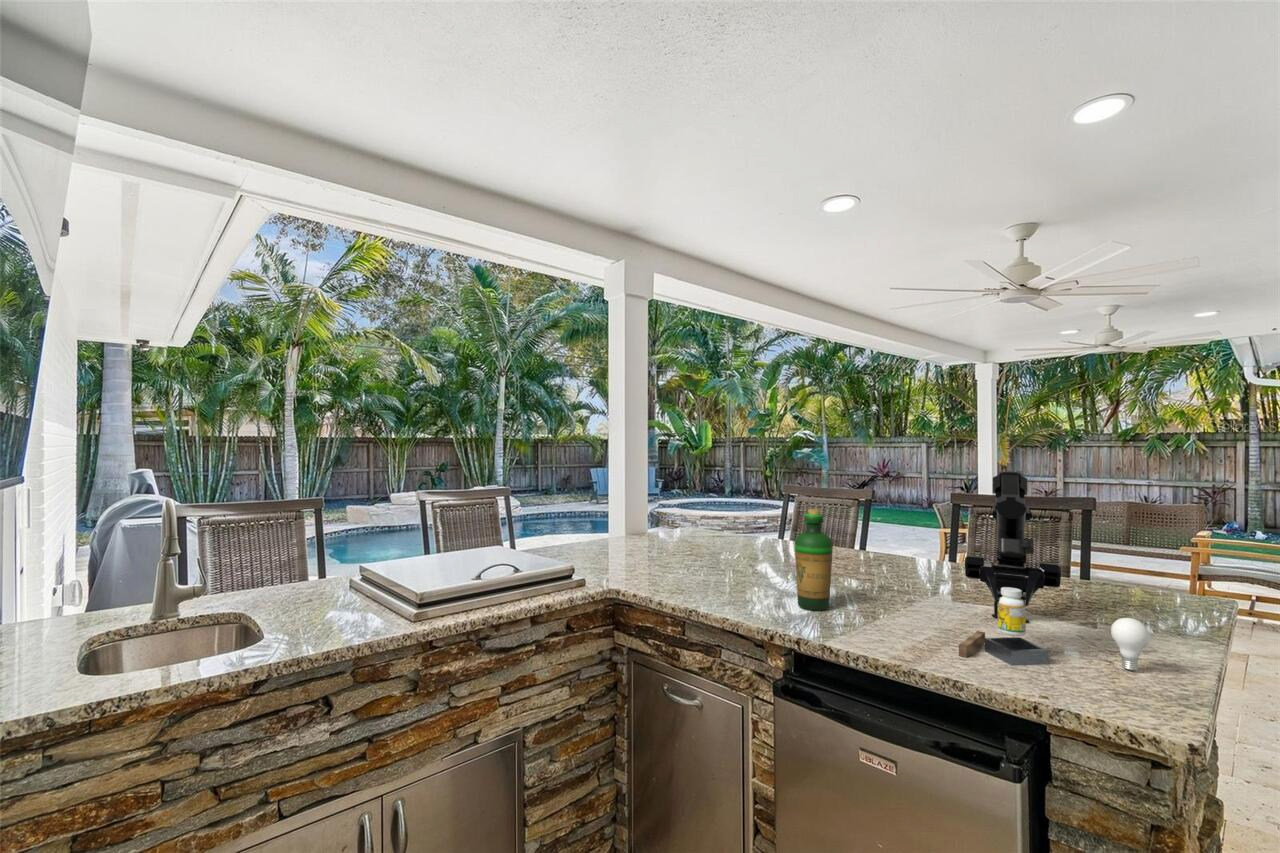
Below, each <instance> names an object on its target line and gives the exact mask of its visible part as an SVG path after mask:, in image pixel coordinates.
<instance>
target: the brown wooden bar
mask: <svg viewBox="0 0 1280 853" xmlns="http://www.w3.org/2000/svg"><path fill="white" fill-rule="evenodd" d="M985 638H986V632H984V631H979V630H977V631H975V632H974V633H973V634H972V635H970V636H969V637H966V639H964V640H963V641H962V642H960V643H959V644H958V656H959V657H962V658H965V659H967V658H968V657H970V656H971V655H972V654H973V653H975V652H976V651H977V650H979V649H980V648H981V647H982V646H984V645H985Z"/></svg>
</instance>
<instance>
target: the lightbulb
mask: <svg viewBox="0 0 1280 853" xmlns="http://www.w3.org/2000/svg"><path fill="white" fill-rule="evenodd" d="M1149 632H1150V631H1149V630H1148V628H1147V626H1146V625H1145V624H1144V623H1143V622H1141V621H1139V620H1138V619H1136V618H1132V617H1120V618H1118V619H1116V620H1115V621H1114V622H1113V623H1112V624H1111V627H1110V633H1111V636H1112V637H1111V638H1112V639H1113V640H1114V641H1115V643H1116V645H1117V646H1118V649H1119V652H1120V655H1121V667H1122V668H1123V669H1125V671H1128V672H1135V671H1137V670H1139V658H1140V656H1141V653H1142V650H1143V649H1144V648H1145V647H1146V646H1147V644H1149V641H1150V633H1149Z"/></svg>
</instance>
